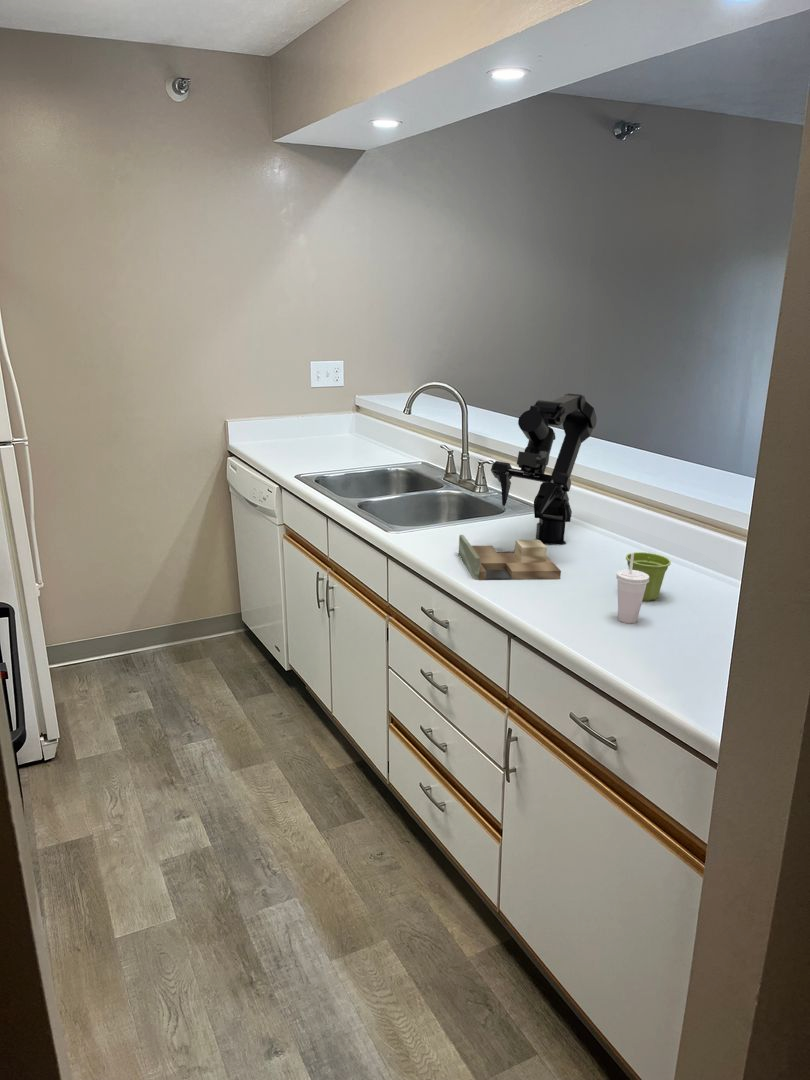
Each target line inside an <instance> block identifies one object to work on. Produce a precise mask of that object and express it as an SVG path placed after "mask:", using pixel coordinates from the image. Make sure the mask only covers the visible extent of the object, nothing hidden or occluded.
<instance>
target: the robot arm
mask: <svg viewBox="0 0 810 1080" xmlns="http://www.w3.org/2000/svg"><path fill="white" fill-rule="evenodd" d="M517 420H518V421H517V424H518V427H519V429H520V430H521V432H522V433H523V435H524V436H525V437H526V439H527V440H528V442H527V446H526V447H525V449H524V451H520V450H519V451H518V454H517V455H518V456H517V460H516V465H517V466H518V468H512V465H511V463H510V462H504V461H499V460H495V461H494V462H493V463H492V465H491V469H490V472H491V473H492V475H493V476H494V478H495V479H497V480H498V482H499V483H500V487H501V502H502V504H501V505H502V507H505V506H506V505H507V500H508V498H509V493H510V489H511V485H512V482H511V479H512V477H513V478H519V479H524V480H531V481H536V482H542V483H541V484H540V486H539V489H538V492H537V493H536V495H535V497H534V501H533V512H534V514H533V515H534V519H539V521H538V522H537V524H536V531H535V532H536V533H535V539H536V540H540V541H541V542H542V543H543V544H544V545H566V543H567V542H566V541H565V533H566V532H565V531H566V530H565V529H566V523H571V519H572V513H573V511H572V508H571V505H570V502H569V500H570V498H569V494H568V493H569V492H570V490H571V485H572V481H571V475H572V472H573V469H574V466H575V463H576V460H577V458H578V454H579V452H580V448H581V446H582V443H583V442H585V441H586V440H587V439H588V438H590V436H591V435H592V432H593V430H594V429H595V428H596V425H597V422H598V421H597V415H596V410H595V408H594V407H593V406H592V405H591V404H590V403H589V402H588V401H587V399H586V397H585V395H583V394H578V393H576V394H575V393H567V394H566V393H565V394H564V395H563V396H561V397H558V398H556V399H554V400H542V399H538V400H537V401H536V402H535V404H533V405H530V407H529V409H527V410H526V411H524V412H523V413H521V415H520V416H519V417H518V419H517ZM561 425H562V428H563V432H564V434H565V435H564V438H563V441H562V444H561V446H560V449H559V453H558V456H557V459H556V460H555V464H554V468H553V470H552V472H551V474H545V471H546V469H547V466H548V465H549V461H550V453H551V451H552V447H553V443H554V441H555V440H556V432H555V431H554V429H553V428H552V427H551V426H557V427H559V426H561Z"/></svg>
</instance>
